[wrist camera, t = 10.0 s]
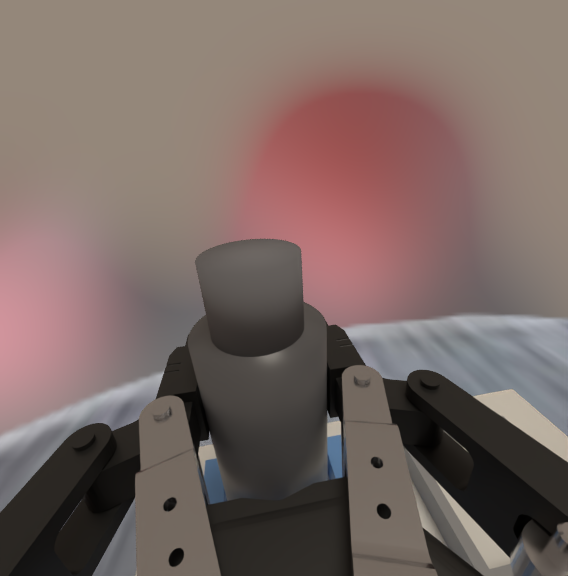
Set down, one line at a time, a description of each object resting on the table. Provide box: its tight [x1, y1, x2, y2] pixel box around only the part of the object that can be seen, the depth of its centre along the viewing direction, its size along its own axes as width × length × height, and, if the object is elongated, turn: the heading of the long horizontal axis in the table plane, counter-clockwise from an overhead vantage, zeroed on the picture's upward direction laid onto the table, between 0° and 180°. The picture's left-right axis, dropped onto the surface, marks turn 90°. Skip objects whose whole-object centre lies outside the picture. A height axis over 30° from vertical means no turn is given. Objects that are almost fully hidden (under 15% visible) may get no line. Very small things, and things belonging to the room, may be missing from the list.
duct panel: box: [135, 389, 568, 576], centre depth 16 cm, size 28×14×3 cm, turn 99°
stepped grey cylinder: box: [188, 239, 328, 501], centre depth 11 cm, size 4×4×12 cm
